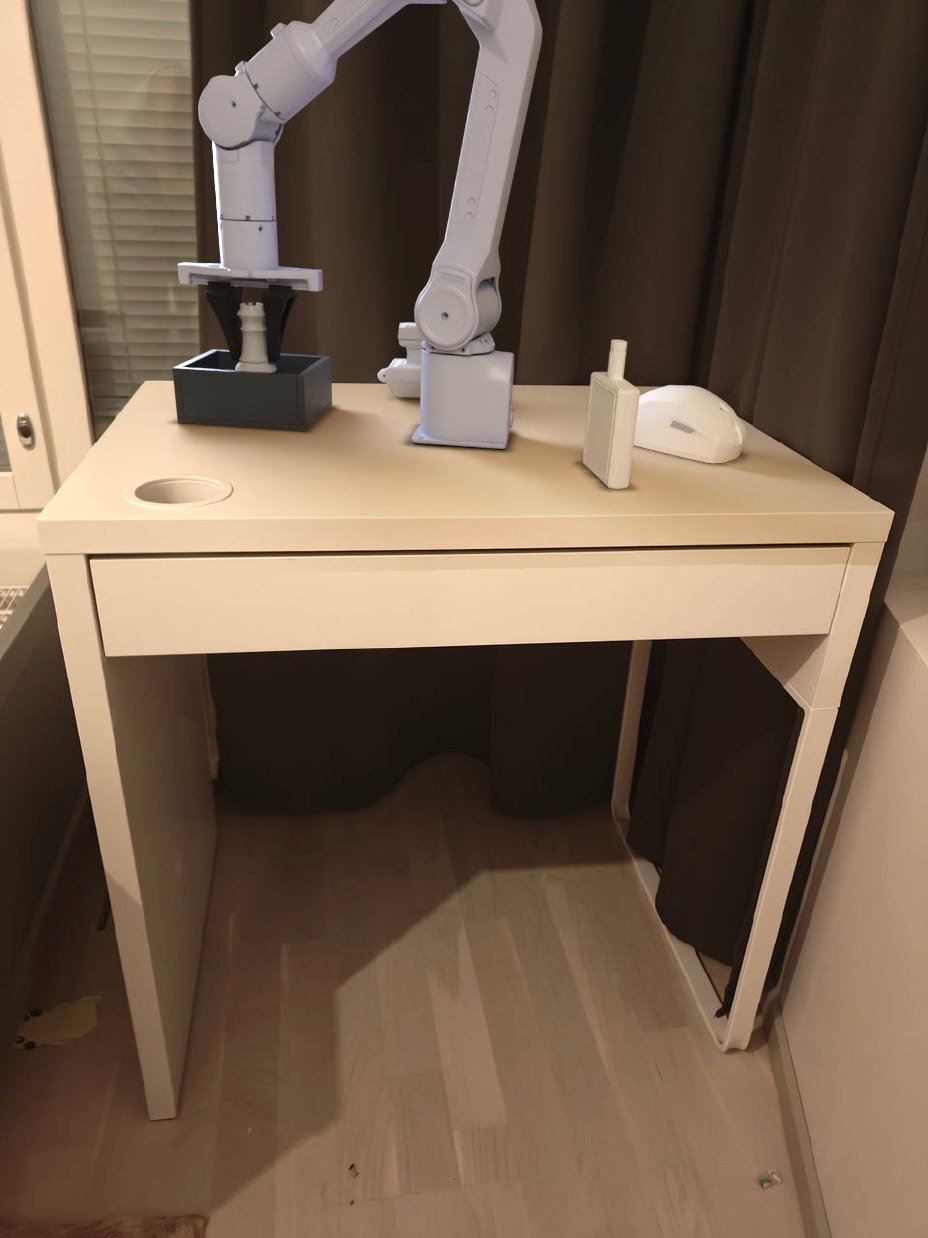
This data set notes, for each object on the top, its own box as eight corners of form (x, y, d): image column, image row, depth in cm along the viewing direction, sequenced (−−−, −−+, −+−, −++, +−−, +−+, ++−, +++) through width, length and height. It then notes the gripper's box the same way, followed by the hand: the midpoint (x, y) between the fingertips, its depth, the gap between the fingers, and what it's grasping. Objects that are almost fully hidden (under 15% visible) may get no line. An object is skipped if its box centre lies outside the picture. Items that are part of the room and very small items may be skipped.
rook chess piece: (286, 382, 98) (283, 304, 95) (257, 388, 95) (252, 308, 91) (256, 376, 100) (252, 299, 97) (226, 382, 97) (220, 303, 93)
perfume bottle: (580, 463, 87) (593, 333, 82) (600, 462, 87) (614, 333, 82) (607, 489, 80) (623, 348, 75) (629, 488, 80) (646, 348, 75)
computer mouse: (720, 467, 88) (731, 402, 85) (608, 439, 95) (614, 379, 93) (750, 455, 92) (762, 392, 89) (641, 429, 100) (648, 371, 97)
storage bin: (332, 406, 104) (331, 356, 101) (305, 431, 93) (303, 376, 91) (216, 398, 105) (212, 348, 102) (177, 422, 94) (172, 367, 92)
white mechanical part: (452, 392, 113) (455, 321, 110) (450, 403, 107) (452, 329, 104) (380, 388, 113) (380, 318, 110) (374, 400, 107) (374, 326, 104)
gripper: (160, 217, 88) (174, 361, 93) (308, 224, 86) (312, 370, 92) (188, 215, 94) (199, 350, 100) (326, 222, 93) (329, 358, 99)
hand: (255, 359), depth 96 cm, fingers closed on rook chess piece, 3 cm apart
